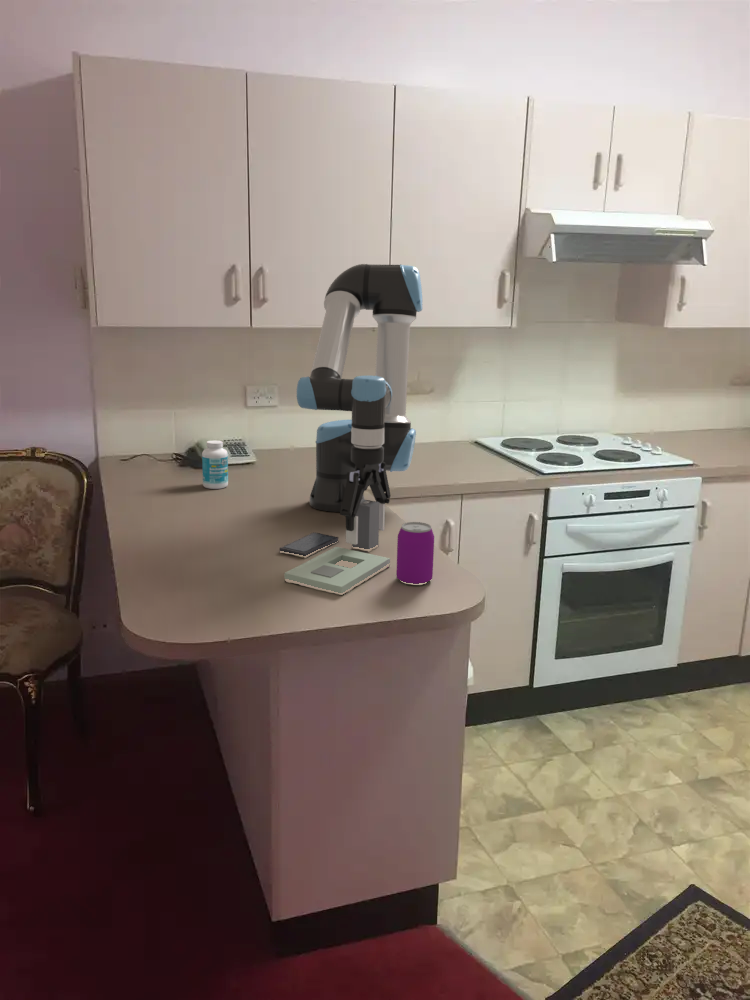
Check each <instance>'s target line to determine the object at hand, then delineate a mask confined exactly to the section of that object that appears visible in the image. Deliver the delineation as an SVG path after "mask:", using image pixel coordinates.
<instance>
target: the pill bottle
mask: <svg viewBox="0 0 750 1000" xmlns="http://www.w3.org/2000/svg"><path fill="white" fill-rule="evenodd" d="M223 446H224V442H223V441H222V440H207V441H206V447H207V448H204V449H203V451H202V453H201V461H202V467H201V468H202V486H203V487H204V488H206V489H209V490H210V489H211V490H219V489H220V490H221V489H224V488H226V487H228V485H229V463H228V462H229V455H228V451H227V449H225V448H223Z"/></svg>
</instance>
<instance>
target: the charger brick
mask: <svg viewBox="0 0 750 1000" xmlns="http://www.w3.org/2000/svg"><path fill="white" fill-rule="evenodd" d="M379 503H380V502H376V500H371V499H370V500H369V499H368V500H367V499H365V498H364V499H362V500H361V502H360V505H359V508H358V511H357V514H356V516H358V544H356V545H355V544H351V547H352V546H353V547H359V548H364V549H370V548H373V547H375V546H376V545H378V546H379V542H380V541H379V536H380V535H379V532H380V530H379Z"/></svg>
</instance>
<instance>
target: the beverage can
mask: <svg viewBox="0 0 750 1000" xmlns="http://www.w3.org/2000/svg"><path fill="white" fill-rule="evenodd" d="M396 547H397V548H396V551H397V552H396V575H395V576H396V579H397V580H398V579H399V580H401V581H403V582H406V583H413V584H419V583H425V582H428V581H430V580H431V579H432V580H433V575H434V553H435V534H434V531H433V528H432V525H430V524H429V523H427V522H421V521H409V522H405V523H403V524H401V527H400V529H399V531H398V534H397V545H396ZM399 580H398V581H399ZM432 580H431V581H432ZM431 581H430V582H431ZM428 583H429V582H428Z"/></svg>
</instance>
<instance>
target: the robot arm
mask: <svg viewBox="0 0 750 1000" xmlns="http://www.w3.org/2000/svg"><path fill="white" fill-rule="evenodd" d="M422 288H423V287H422V282H421V274H420V271H419V269H418V268H417V267H416V266H413V265H408V264H407V265H406V264H368V263H366V264H365V263H360V264H355V265H353V266H351V267H349V268H347V269H345V270H344V271H342V272H341V273H340V274H339V275H338V276H337V277H335V279H334V280H333V282H332V283H331V284H330V285H329V287H328V289H327V290H326V291H327V292H326V293H325V297H324V301H323V307H324V310H325V312H324V313H325V314H324V317H323V321H322V326H321V329H320V333H319V338H318V342H317V346H316V350H315V353H314V359H313V362H312V367H311V371H310V375H309V376H301V377H300V378H299V379H298V380H297V386H296V401H297V405H298V406H299V407H300V408H301V409H305V410H314V411H340V412H341V411H342V412H351V419H338V420H332V421H327V422H323V423H322V424H320V425H319V426H318V427H317V429H316V438H315V446H316V447H315V451H316V452H315V461H316V462H315V465H316V466H315V473H316V474H315V479H314V483H313V485H312V489H311V492H310V495H309V506H310V507H311V508H313V509H316V510H319V511H325V512H331V513H333V512H334V513H335V512H336V513H339V515H340V516H345V543H346V544H349V545H352V544H355V545H356V544H358V516H356V514H357V511H358V508H359V505H360V502H361V500H362V499H364V500H365V492H366V491H367V490H368V487H369V488H370V490H371V493H372V495H373V497H374V499H375V500H374V501H376V502H380V503H379V531H381V532H383V531H385V521H386V520H385V516H386V514H385V513H386V504H389V503H390V502H391V501H390V499H391V495H392V494H391V492H390V486H389V485H390V484H389V480H388V475H387V472H390V473H392V472H405V471H407V470H408V469H409V468H410V465H411V462H412V459H413V454H414V450H415V444H416V435H417V430H416V429H415V428H413V427H412V424H411V423H412V422H411V420H410V419H409V418H408V417H407V415H406V414H407V412H406V411H407V394H408V393H407V392H408V391H407V390H408V373H409V354H410V334H411V325H412V323H414V322H415V321H416V320H417V312H418V313H420V312H422V311H423V289H422ZM361 310H368V311H372V318H373V319H374V321H376V323H377V331H376V332H377V333H376V354H375V355H376V356H375V357H376V358H375V375H358V376H355V377H353V379H350V378H343V372H344V368H345V365H346V358H347V354H348V351H349V350H348V349H349V346H350V341H351V336H352V331H353V327H354V322H355V318H356V317H358V315H360V312H361ZM411 427H412V428H411Z"/></svg>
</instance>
